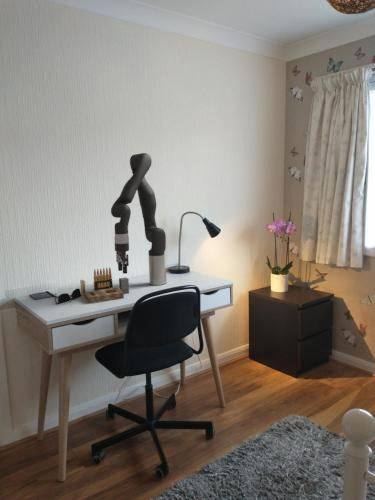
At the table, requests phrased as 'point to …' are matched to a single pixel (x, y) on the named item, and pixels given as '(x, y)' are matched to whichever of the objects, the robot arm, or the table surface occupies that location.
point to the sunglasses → (67, 296)
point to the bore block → (103, 295)
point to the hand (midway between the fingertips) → (122, 272)
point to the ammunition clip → (102, 280)
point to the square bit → (124, 285)
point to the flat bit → (82, 286)
